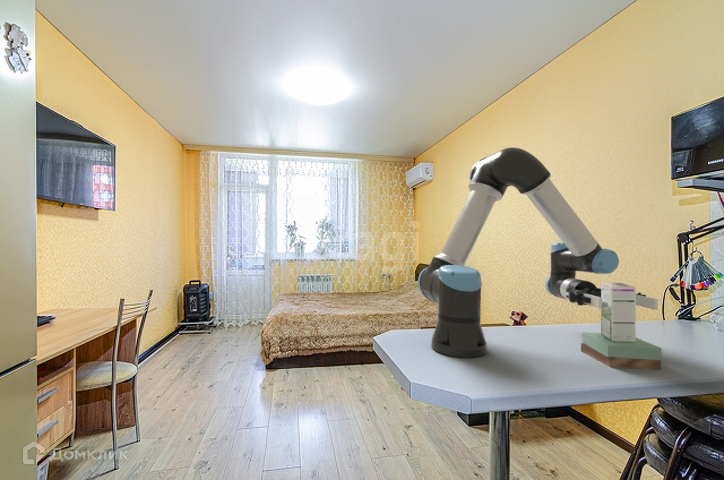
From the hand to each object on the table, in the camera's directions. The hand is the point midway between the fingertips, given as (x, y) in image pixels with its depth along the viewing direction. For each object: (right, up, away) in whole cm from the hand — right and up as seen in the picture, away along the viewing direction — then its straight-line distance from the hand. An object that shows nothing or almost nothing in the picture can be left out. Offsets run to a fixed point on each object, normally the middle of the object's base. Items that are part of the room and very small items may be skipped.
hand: (628, 303), depth 84 cm
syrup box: (0, -10, +3) cm, 11 cm away
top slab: (0, -13, +3) cm, 13 cm away
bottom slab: (0, -16, +3) cm, 16 cm away
